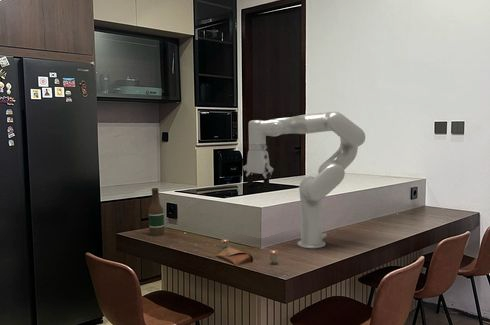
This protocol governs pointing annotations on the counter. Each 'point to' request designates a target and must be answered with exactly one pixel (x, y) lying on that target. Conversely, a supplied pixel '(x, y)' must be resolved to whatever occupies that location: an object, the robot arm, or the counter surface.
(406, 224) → the counter surface
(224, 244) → the line post
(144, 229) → the counter surface
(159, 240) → the counter surface
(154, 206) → the beer bottle
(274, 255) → the line post
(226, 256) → the sunglasses case
